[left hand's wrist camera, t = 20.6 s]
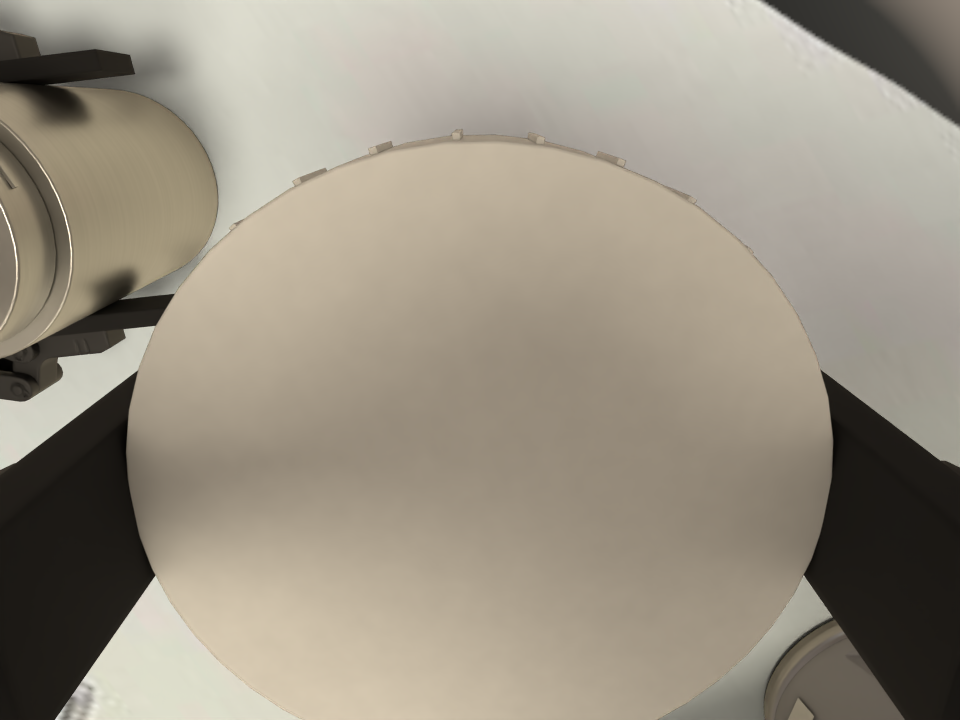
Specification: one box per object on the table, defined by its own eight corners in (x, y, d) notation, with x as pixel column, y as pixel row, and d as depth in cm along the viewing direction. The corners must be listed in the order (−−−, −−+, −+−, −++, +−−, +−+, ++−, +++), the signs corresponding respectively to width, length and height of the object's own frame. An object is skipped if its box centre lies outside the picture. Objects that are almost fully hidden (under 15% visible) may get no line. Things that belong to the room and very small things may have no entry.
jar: (105, 45, 33) (-192, -8, 18) (256, 191, 35) (98, 247, 21) (-5, 183, 35) (-346, 234, 21) (144, 312, 38) (-69, 438, 23)
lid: (376, 732, 15) (358, 838, 12) (59, 317, 11) (-39, 364, 9) (849, 544, 13) (921, 629, 11) (635, -6, 10) (678, -38, 8)
